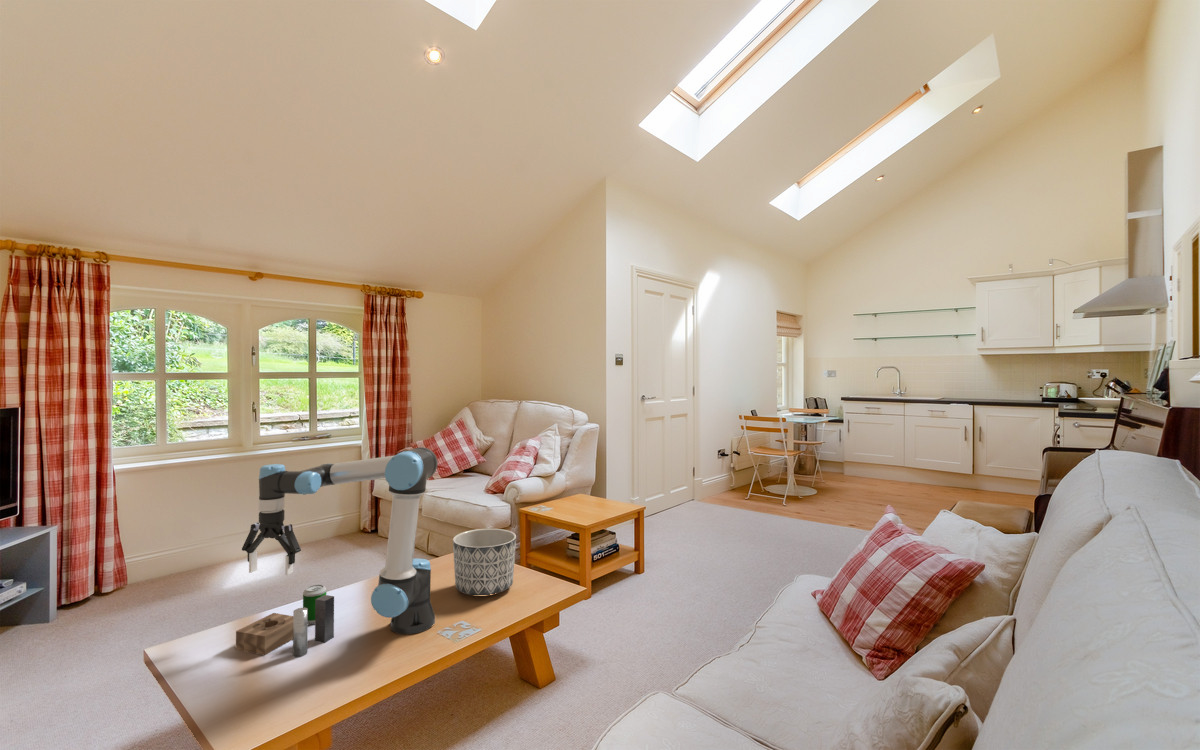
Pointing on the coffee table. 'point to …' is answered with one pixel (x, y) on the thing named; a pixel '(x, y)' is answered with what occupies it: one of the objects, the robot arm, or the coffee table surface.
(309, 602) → the soda can
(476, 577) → the planter
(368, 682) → the coffee table surface
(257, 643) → the bore block
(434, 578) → the coffee table surface
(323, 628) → the square bit
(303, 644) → the cylinder
